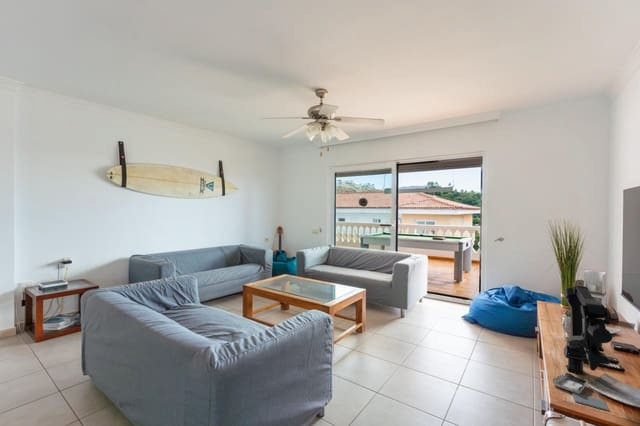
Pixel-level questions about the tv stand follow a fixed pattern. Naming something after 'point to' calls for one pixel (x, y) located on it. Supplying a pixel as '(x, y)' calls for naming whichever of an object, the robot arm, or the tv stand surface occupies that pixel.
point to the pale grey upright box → (596, 285)
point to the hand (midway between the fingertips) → (592, 370)
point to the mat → (590, 401)
